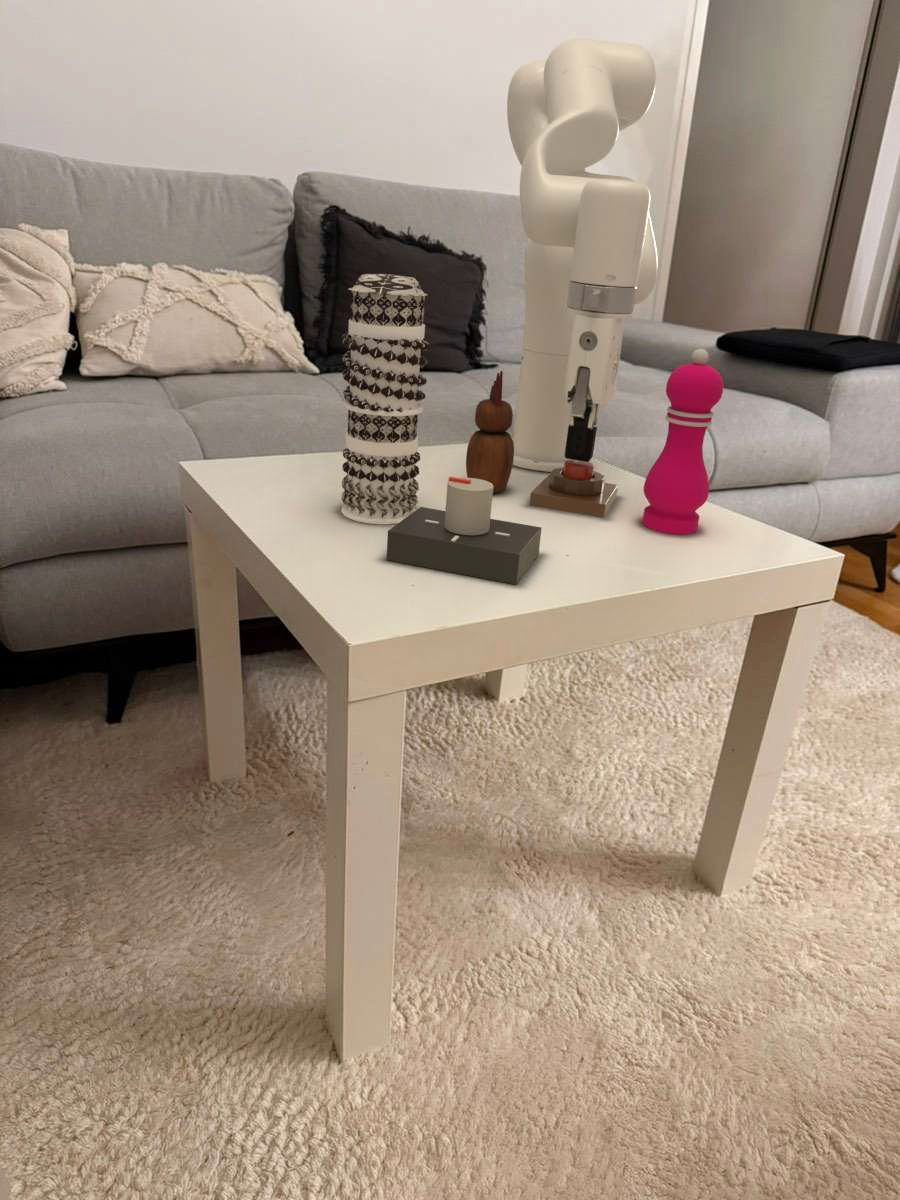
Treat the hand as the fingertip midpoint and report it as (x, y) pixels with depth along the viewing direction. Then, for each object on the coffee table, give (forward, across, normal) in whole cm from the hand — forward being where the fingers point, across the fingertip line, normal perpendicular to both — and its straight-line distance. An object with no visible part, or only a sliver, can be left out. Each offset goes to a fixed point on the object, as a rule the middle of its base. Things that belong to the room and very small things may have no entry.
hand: (578, 458), depth 104 cm
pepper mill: (+5, -5, -12) cm, 14 cm away
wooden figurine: (+6, -2, +11) cm, 12 cm away
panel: (+5, -27, +6) cm, 28 cm away
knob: (+2, -27, +6) cm, 27 cm away
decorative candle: (+5, -18, +19) cm, 26 cm away
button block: (+5, -1, 0) cm, 5 cm away
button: (+2, -1, 0) cm, 2 cm away
